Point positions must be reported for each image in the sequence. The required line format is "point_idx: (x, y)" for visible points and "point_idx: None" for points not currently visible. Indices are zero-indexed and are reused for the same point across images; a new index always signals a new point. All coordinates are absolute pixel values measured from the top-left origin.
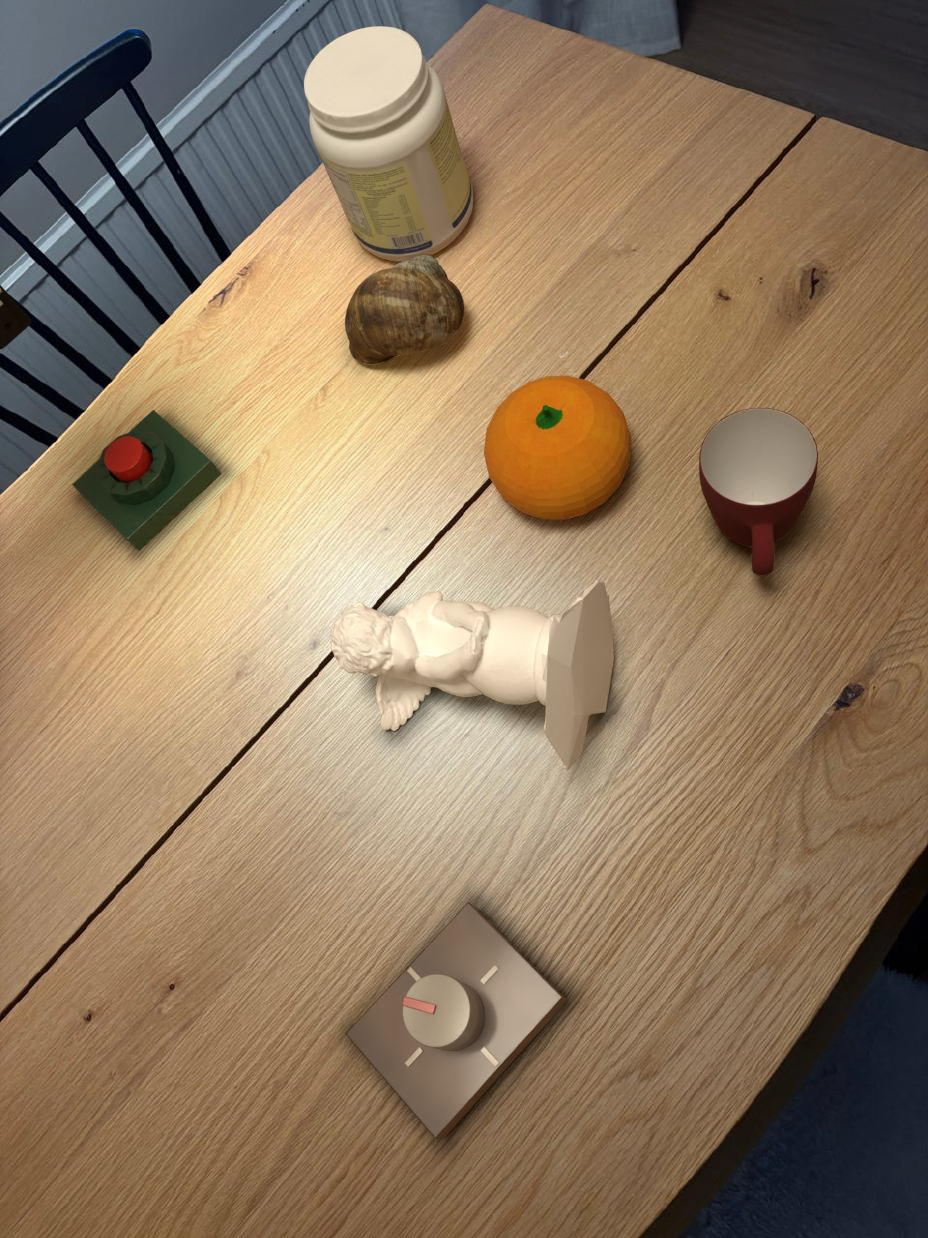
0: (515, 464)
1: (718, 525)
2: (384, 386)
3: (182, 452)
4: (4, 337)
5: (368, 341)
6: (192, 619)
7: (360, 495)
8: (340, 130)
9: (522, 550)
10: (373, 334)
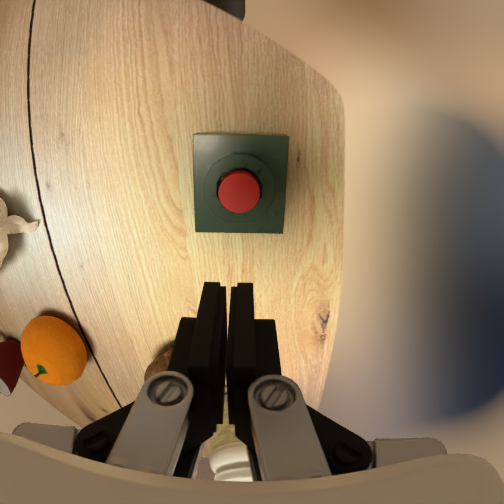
0: (31, 344)
1: (3, 346)
2: (166, 331)
3: (223, 222)
4: (181, 318)
5: (166, 361)
6: (113, 130)
7: (109, 273)
8: (237, 468)
9: (38, 297)
10: (162, 368)
